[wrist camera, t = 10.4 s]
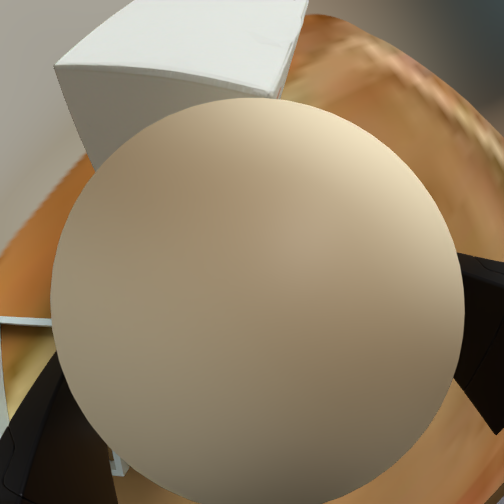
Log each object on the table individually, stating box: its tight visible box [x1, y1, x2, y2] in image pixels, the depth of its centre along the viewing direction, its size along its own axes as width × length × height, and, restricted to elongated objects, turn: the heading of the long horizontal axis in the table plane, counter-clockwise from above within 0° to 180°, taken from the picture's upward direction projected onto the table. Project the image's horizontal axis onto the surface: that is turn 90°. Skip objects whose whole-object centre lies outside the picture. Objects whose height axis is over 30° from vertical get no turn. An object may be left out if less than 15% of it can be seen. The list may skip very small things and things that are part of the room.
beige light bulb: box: [50, 98, 465, 504], centre depth 10 cm, size 6×6×14 cm
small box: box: [54, 0, 309, 172], centre depth 13 cm, size 8×6×13 cm
